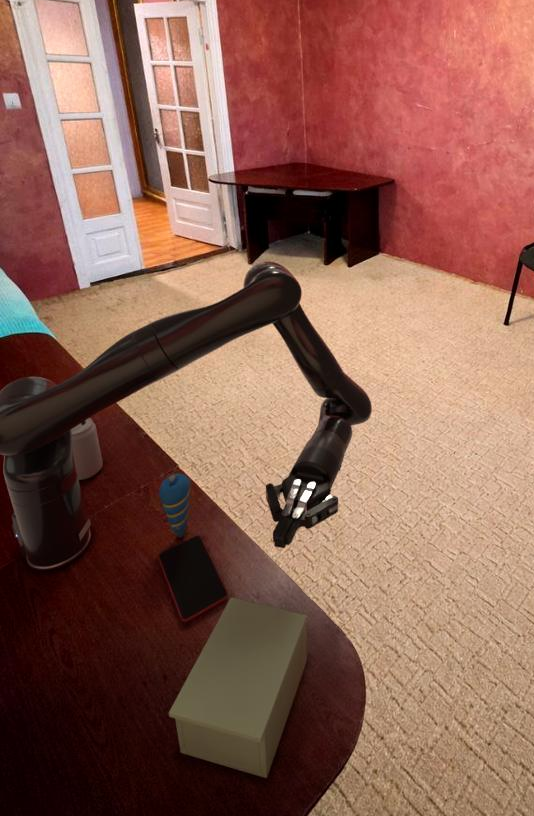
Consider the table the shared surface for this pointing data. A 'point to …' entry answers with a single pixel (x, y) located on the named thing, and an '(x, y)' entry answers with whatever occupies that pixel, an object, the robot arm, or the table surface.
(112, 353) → the robot arm
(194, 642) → the table surface
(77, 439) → the beverage can
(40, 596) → the table surface
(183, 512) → the ornament
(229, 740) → the chest
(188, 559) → the smartphone
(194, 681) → the lid
